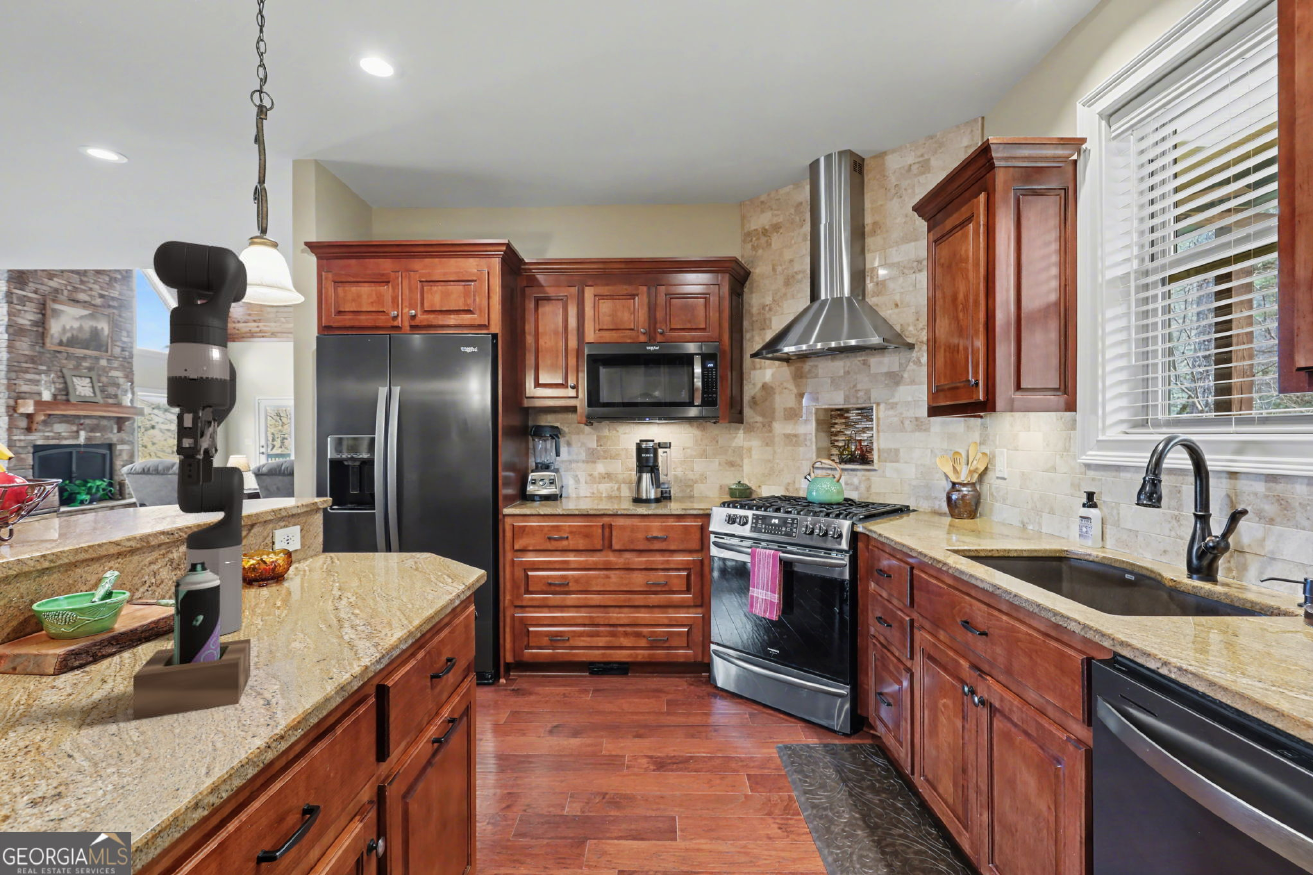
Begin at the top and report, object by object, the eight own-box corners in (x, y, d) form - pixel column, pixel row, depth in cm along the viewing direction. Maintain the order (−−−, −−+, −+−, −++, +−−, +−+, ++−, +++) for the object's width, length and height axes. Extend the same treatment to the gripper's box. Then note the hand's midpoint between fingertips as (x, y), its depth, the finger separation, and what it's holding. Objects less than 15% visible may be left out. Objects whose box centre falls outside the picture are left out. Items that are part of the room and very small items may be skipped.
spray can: (194, 704, 89) (195, 566, 89) (163, 701, 90) (165, 564, 90) (228, 690, 94) (229, 559, 94) (198, 687, 95) (199, 558, 95)
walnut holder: (157, 689, 94) (157, 649, 94) (250, 675, 100) (250, 638, 100) (132, 720, 84) (133, 675, 84) (238, 703, 89) (238, 661, 89)
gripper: (179, 380, 97) (178, 482, 97) (154, 370, 84) (153, 488, 84) (236, 382, 100) (236, 481, 100) (220, 372, 88) (219, 486, 87)
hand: (198, 484), depth 92 cm, fingers open, 8 cm apart
